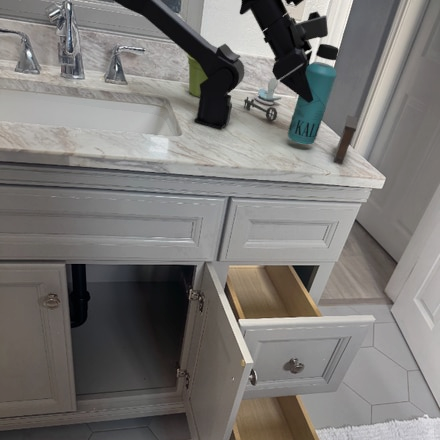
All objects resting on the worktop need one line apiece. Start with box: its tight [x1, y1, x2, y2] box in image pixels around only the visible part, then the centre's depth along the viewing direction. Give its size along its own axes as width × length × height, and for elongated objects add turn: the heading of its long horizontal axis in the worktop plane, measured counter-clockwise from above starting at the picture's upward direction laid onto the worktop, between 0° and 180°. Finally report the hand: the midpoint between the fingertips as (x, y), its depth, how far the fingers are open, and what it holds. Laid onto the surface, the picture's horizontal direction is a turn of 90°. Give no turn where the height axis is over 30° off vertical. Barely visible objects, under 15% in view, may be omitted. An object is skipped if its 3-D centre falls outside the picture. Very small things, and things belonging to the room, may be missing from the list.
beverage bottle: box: [287, 43, 340, 145], centre depth 88 cm, size 6×7×20 cm
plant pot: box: [186, 53, 208, 98], centre depth 109 cm, size 9×9×9 cm
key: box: [243, 96, 278, 122], centre depth 105 cm, size 12×1×3 cm, turn 39°
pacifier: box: [254, 77, 282, 106], centre depth 115 cm, size 7×6×6 cm
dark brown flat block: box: [333, 114, 358, 165], centre depth 91 cm, size 2×9×8 cm, turn 164°
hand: (312, 96), depth 88 cm, fingers open, 9 cm apart
